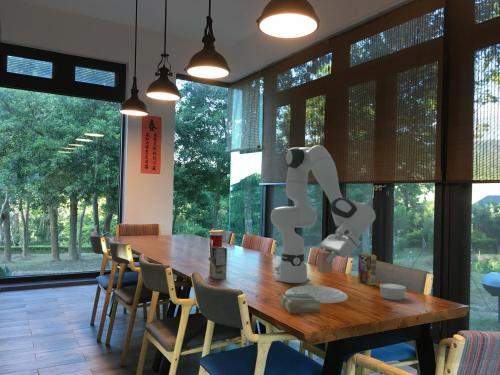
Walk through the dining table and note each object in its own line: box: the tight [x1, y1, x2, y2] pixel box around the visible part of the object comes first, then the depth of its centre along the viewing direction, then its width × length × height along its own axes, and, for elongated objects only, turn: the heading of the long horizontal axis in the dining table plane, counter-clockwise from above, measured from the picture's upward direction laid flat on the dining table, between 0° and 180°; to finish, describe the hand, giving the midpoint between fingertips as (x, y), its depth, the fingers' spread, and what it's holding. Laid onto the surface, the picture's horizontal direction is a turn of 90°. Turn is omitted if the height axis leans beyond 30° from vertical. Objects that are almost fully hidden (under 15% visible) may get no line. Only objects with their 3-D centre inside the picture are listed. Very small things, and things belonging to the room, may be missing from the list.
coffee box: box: [209, 245, 228, 280], centre depth 213 cm, size 9×6×16 cm
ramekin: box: [379, 283, 407, 301], centre depth 179 cm, size 11×11×5 cm
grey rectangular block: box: [317, 250, 333, 274], centre depth 161 cm, size 4×4×8 cm
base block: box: [280, 293, 321, 314], centre depth 159 cm, size 12×12×4 cm
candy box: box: [357, 252, 377, 286], centre depth 207 cm, size 9×4×15 cm, turn 29°
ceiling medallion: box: [284, 284, 349, 304], centre depth 180 cm, size 28×28×3 cm
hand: (323, 259), depth 161 cm, fingers closed on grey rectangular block, 4 cm apart
